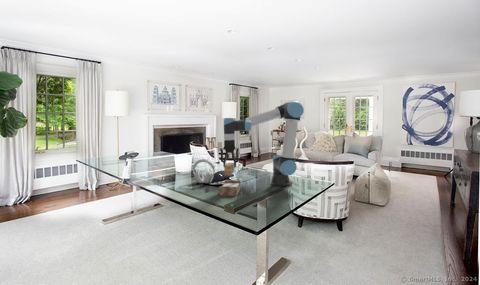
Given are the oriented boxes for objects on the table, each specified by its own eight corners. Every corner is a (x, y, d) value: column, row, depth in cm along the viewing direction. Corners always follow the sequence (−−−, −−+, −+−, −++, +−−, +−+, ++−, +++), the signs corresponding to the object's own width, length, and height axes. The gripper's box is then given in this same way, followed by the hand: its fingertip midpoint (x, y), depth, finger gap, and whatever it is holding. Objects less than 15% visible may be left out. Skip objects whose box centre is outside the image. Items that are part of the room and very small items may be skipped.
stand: (240, 188, 200) (240, 180, 199) (236, 195, 180) (236, 187, 180) (225, 187, 202) (224, 180, 201) (219, 195, 182) (218, 186, 181)
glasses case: (235, 170, 196) (234, 162, 196) (231, 174, 182) (231, 166, 182) (228, 170, 197) (228, 162, 196) (224, 174, 183) (224, 166, 183)
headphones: (216, 182, 220) (216, 158, 218) (213, 185, 210) (212, 160, 208) (195, 181, 223) (195, 158, 221) (191, 184, 213) (190, 159, 211)
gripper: (242, 139, 190) (243, 171, 192) (218, 139, 193) (218, 170, 195) (241, 140, 182) (241, 173, 185) (215, 140, 185) (216, 172, 187)
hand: (229, 171), depth 190 cm, fingers closed on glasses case, 5 cm apart
